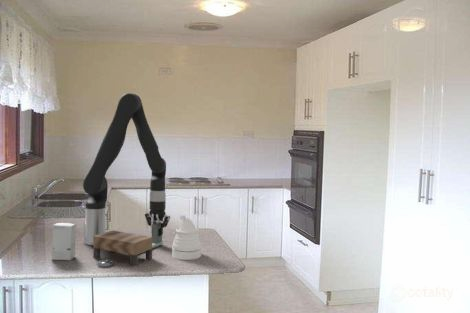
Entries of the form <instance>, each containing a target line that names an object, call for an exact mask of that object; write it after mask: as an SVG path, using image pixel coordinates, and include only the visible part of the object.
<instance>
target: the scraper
mask: <svg viewBox="0 0 470 313" xmlns="http://www.w3.org/2000/svg"><path fill="white" fill-rule="evenodd" d="M158 229H159V227H158V223H154V224H152V227H151V237H152V249H155V248H157V247H159V246H162V245H164V242H163V235H162V236H158ZM143 253H146V251H144V252H143ZM139 254H141V253H139ZM139 254H138V255H139Z"/></svg>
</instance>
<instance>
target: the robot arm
mask: <svg viewBox="0 0 470 313" xmlns="http://www.w3.org/2000/svg"><path fill="white" fill-rule="evenodd" d="M116 106H117V107H116V110H115V113H114V115H113V117H112V120H111V123H110V124H109V126H108V128H107V131H106V132H105V135H104V137H103V138H102V142H101V144H100V146H99V148H98V151H97V153H96V155H95V157H94V158H95V159H94V162H93V163H92V165H91V168H90V169H89V171H88V173H87V174H86V176H85V178H84V180H83V181H82V182H83V183H82V188H83V191H84V192H85V194H88V198H87V200H86V202H85V208H84V209H85V223H83V244H86V245H88V246H94V236H96V235H99V234H102V233H106V224H107V223H106V222H107V221H106V220H107V219H106V217H107V216H106V215H107V214H106V210H107V209H106V208H107V207H106V205H107V201H108V180H107V177H106V174H107V172H108V170H109V168H110V167H111V166H112V164H113V163H114V162H115V161H116V159H117V157H119V154H120V152H121V151H122V148H123V146H124V144H125V140H126V136H127V129H128V125H129V123H130V121H131V120H132V122H133V125H134V126H135V130H136V134H137V139H138V141H139V144H140V146H141V149H142V151H143V153H144V154H145V155H144V156H145V158H146V161H147V164H148V166H149V169H150V171H151V178H150V184H149V185H150V186H149V190H150V191H149V211H148V212H147V213H145V214H144V217H145V219H146V222H147V225H148V226H150V227H151V228H152V224H154V223H158V227H159V229H158V236H162V237H163V234H164V228H166V227H167V226H168V224H169V221H170V219H171V216H170V215H167V214H166V211H165V210H166V207H167V206H166V204H167V203H166V200H167V199H166V198H167V197H166V175H167V174H166V173H167V172H166V171H167V163H166V160H165V159H164V158H163V157H162V156H161V153H160V150H159V146H158V143H157V141H156V139H155V136H154V134H153V132H152V130H151V127H150V125H149V122H148V120H147V117H146V114H145V109H144V106H143V102H142V99H141V97H140V96H139V95H137V94H136V93H133V92H132V93H131V92H128V93H124V94H123V95H122V96H120V98H119V99H118V103H117V105H116Z"/></svg>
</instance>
